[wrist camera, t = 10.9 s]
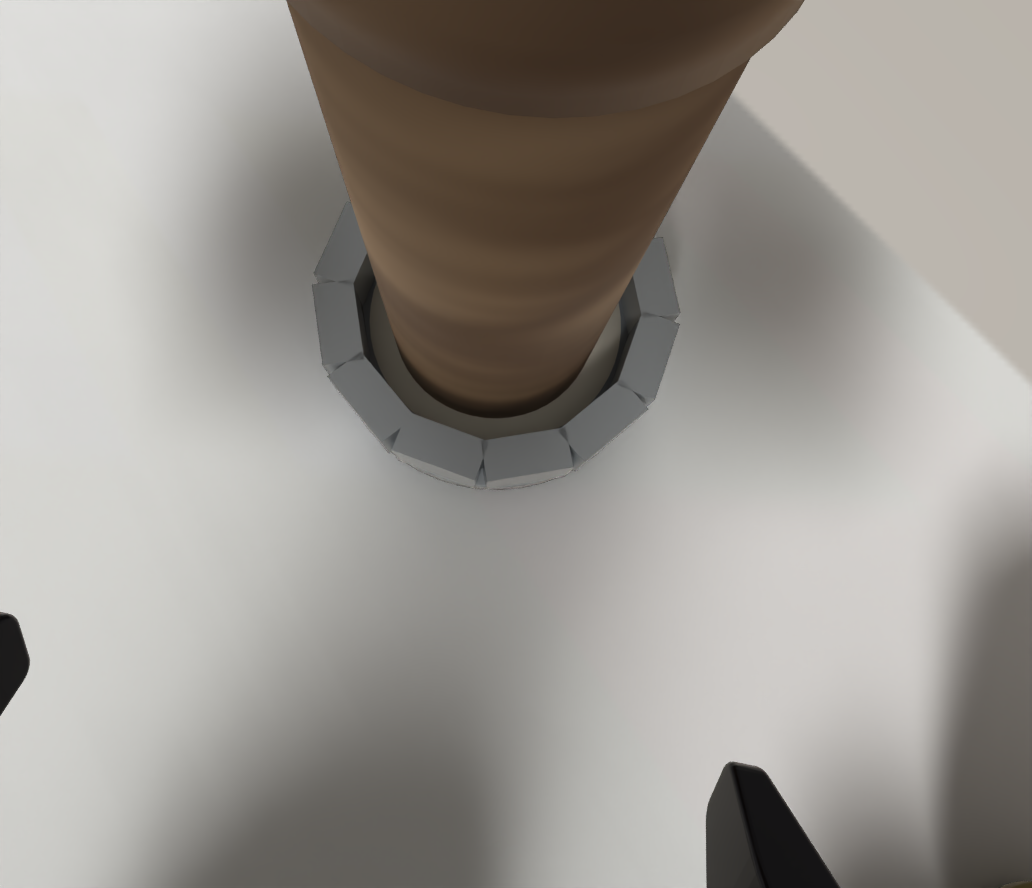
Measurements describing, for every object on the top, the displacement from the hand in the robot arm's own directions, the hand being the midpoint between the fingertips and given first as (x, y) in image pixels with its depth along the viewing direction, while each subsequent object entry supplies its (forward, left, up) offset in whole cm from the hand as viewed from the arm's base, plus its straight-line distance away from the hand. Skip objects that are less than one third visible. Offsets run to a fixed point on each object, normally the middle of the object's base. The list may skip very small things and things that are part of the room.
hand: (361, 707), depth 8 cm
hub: (+7, +5, -10) cm, 13 cm away
